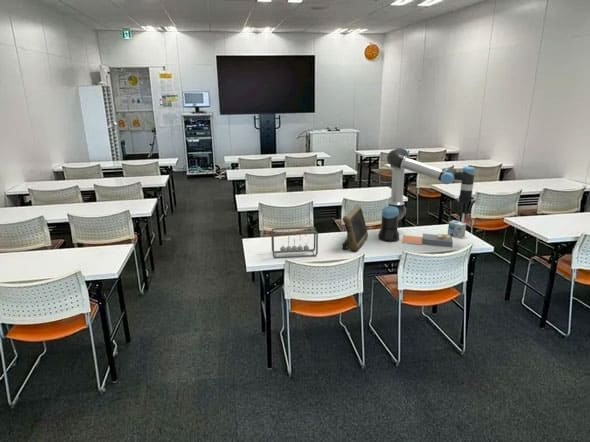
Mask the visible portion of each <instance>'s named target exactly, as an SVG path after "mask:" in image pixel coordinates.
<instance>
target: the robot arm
mask: <svg viewBox="0 0 590 442" xmlns="http://www.w3.org/2000/svg"><path fill="white" fill-rule="evenodd" d="M386 162H387V163H388V164H389V166H390V168H391V169H392V171H391V173H392V175H391V191H390V201H389V202H388V206H385V207H383V209H382V212H381V226H380V230H379V232H378V235H377V238H378V240H380V241H382V242H387V243H393V242H397V241H400V234H399V230H398V228H399V227H398V226H399V225H398V224H399V221H401V220H402V219H403V218H404V217H405V215H406V212H407V208H406V206H405V205H406V203H405V202H404V185H405V184H404V183H405V170H407V171H409V172H414V173H416V174H419V175H421V176H425V177H429V178H431V179H433V180H437V181H439V182H441V183H442V184H444V185H451V184H452V183H454V181H460V183H461V184H460V189H459V191H460V192H459V196H458V198H455V202H456V209H457V213H458V214H460V215H459V218H460V219H461V221H460V222H461V223H465V220H466V219H467V215H468V214H469V215H470V214H471V211H472V209H473V206H474V204H475V203H476V200H475V199H474V198H473V197H472V196H473V189H474V180H475V174H476V173H475V172H476V169H475V168H474V167H473V166H463V167H462V169H459V168H458V169H457V168H449V167H448V168H447V167H446V168H444V169H442V168H439V167H436V166H434V165H430V164H428V163H424V162H421V161H418V160H415V159H412V158H410V153H409V151H408V150H407V149H406V148H404V147H397V148H395V149H392V150H390V151H389V152H388V154H387V156H386ZM459 202H461V207H460V204H459ZM469 203H470V205H469ZM468 206H469V207H468Z"/></svg>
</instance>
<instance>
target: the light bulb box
mask: <svg viewBox="0 0 590 442" xmlns="http://www.w3.org/2000/svg"><path fill="white" fill-rule="evenodd" d="M447 227H448V228H447V234H446V235H449V236H452V238H456V239H459V238H460V239H463V238H464V237H465V236H466V229H467V223H466V222H464V223H461V221H458V220H454V219H453V220H450V221H449V222H448V226H447ZM462 237H463V238H462Z"/></svg>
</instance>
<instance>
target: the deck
mask: <svg viewBox="0 0 590 442" xmlns="http://www.w3.org/2000/svg"><path fill="white" fill-rule="evenodd" d="M437 235H438V234H432V233H422V245H426V246H437V247H445V248H453V242H454V241H453V237H452V236H450V240H443V239H437Z"/></svg>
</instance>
